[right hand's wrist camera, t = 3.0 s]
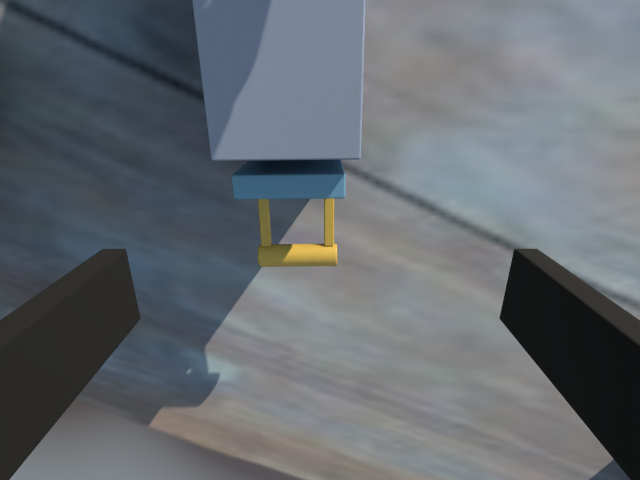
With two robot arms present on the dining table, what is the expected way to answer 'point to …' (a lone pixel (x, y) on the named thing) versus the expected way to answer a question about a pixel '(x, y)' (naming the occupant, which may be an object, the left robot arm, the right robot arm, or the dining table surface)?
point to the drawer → (292, 184)
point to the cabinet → (282, 78)
